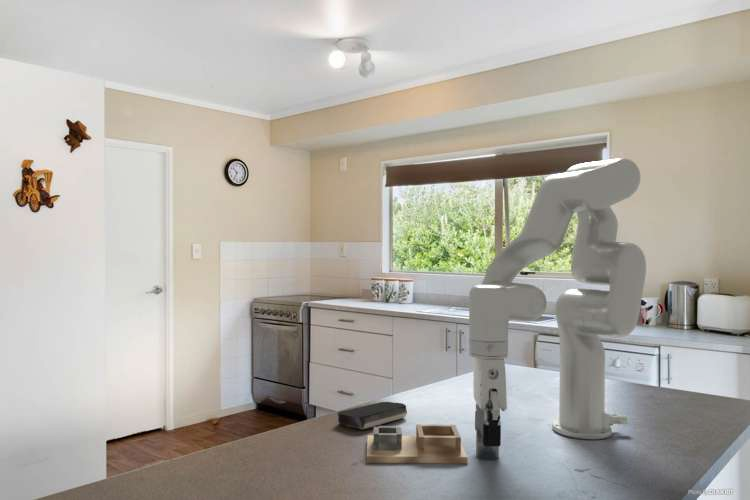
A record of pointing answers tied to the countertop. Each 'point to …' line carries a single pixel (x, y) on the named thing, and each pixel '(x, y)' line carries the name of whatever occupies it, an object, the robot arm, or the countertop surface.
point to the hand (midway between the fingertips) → (487, 437)
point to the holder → (416, 445)
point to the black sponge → (372, 415)
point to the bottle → (482, 450)
